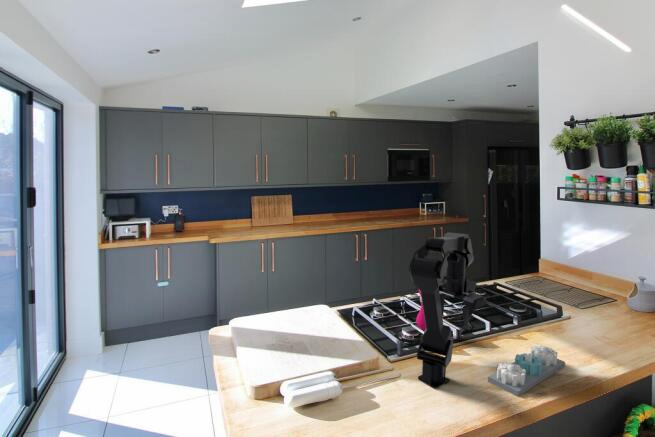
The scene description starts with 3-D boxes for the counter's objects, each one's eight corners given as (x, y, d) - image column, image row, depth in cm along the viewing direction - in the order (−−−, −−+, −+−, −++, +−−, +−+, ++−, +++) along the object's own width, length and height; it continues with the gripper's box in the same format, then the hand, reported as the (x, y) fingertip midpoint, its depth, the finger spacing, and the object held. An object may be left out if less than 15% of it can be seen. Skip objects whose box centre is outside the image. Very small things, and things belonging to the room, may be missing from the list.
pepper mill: (436, 338, 141) (438, 283, 138) (416, 336, 143) (417, 282, 139) (435, 329, 148) (437, 277, 145) (415, 327, 150) (417, 276, 146)
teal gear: (533, 378, 113) (534, 368, 112) (509, 367, 119) (510, 357, 118) (546, 370, 117) (547, 360, 116) (522, 360, 123) (523, 351, 122)
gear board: (518, 396, 107) (519, 377, 106) (487, 381, 114) (488, 363, 113) (564, 366, 122) (566, 349, 121) (535, 354, 129) (536, 338, 128)
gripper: (497, 275, 122) (494, 323, 124) (447, 262, 137) (445, 305, 139) (475, 282, 115) (473, 333, 118) (425, 267, 130) (424, 313, 133)
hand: (453, 320), depth 127 cm, fingers open, 9 cm apart
